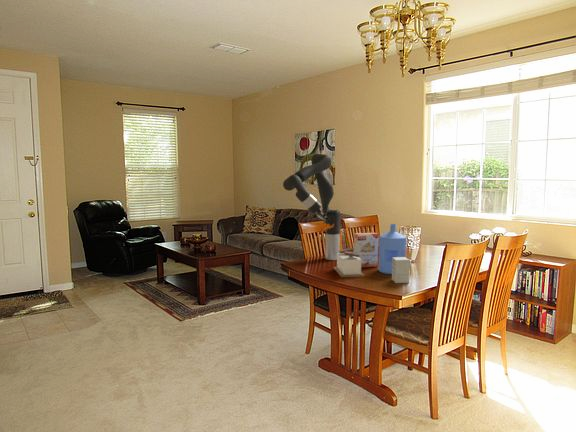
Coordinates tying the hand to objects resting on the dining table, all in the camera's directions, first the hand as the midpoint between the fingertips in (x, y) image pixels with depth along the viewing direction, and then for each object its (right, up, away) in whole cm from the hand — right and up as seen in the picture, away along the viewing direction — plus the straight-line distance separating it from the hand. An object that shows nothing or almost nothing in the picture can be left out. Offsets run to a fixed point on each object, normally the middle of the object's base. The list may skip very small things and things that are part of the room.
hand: (330, 224), depth 241 cm
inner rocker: (+11, -17, +9) cm, 22 cm away
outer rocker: (+12, -18, -2) cm, 22 cm away
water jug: (+37, -28, +7) cm, 47 cm away
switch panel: (+11, -28, +4) cm, 31 cm away
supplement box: (+36, -31, -15) cm, 50 cm away
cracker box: (+24, -27, +20) cm, 41 cm away
